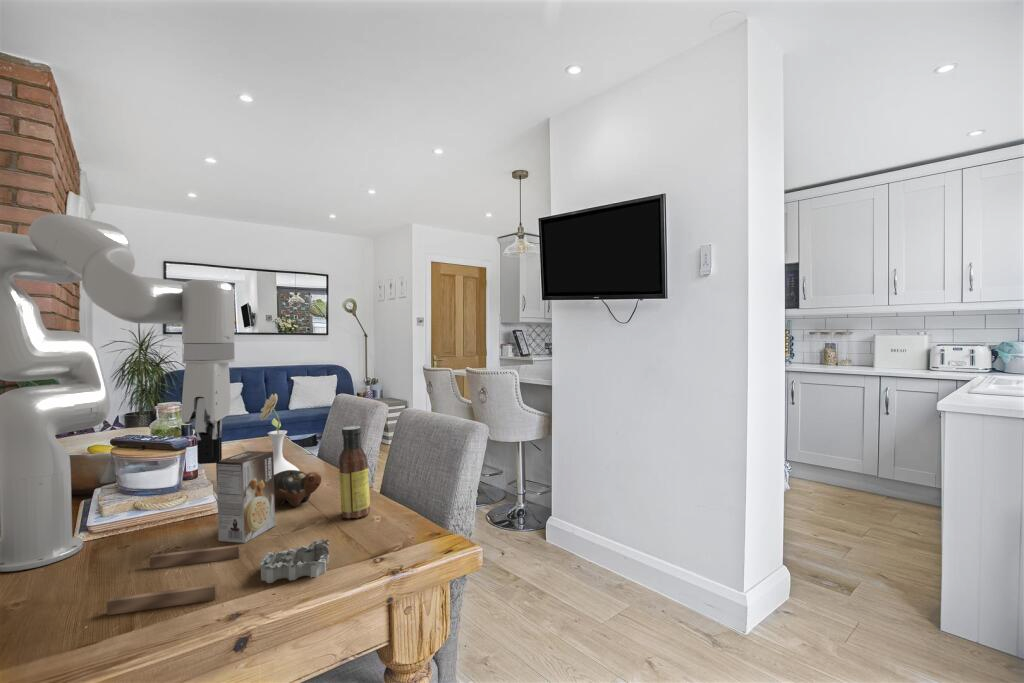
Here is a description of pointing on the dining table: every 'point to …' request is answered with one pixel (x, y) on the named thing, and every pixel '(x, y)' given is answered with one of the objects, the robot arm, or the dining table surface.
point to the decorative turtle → (294, 486)
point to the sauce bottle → (353, 475)
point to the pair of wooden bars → (176, 595)
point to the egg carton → (285, 560)
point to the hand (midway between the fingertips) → (209, 462)
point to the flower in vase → (276, 437)
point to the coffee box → (245, 496)
